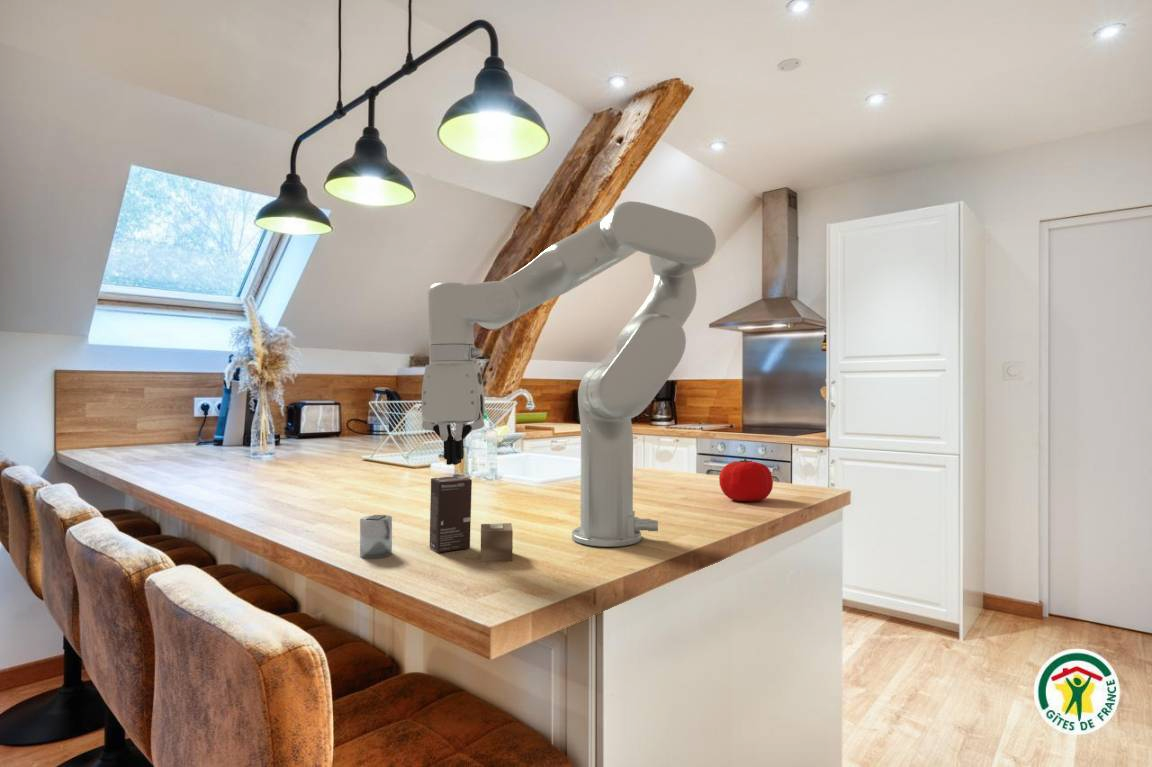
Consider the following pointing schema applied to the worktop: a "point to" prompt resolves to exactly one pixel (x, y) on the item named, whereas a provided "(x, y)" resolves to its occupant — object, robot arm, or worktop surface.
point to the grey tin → (375, 536)
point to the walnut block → (496, 542)
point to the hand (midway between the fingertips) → (454, 463)
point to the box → (450, 513)
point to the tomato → (746, 481)
